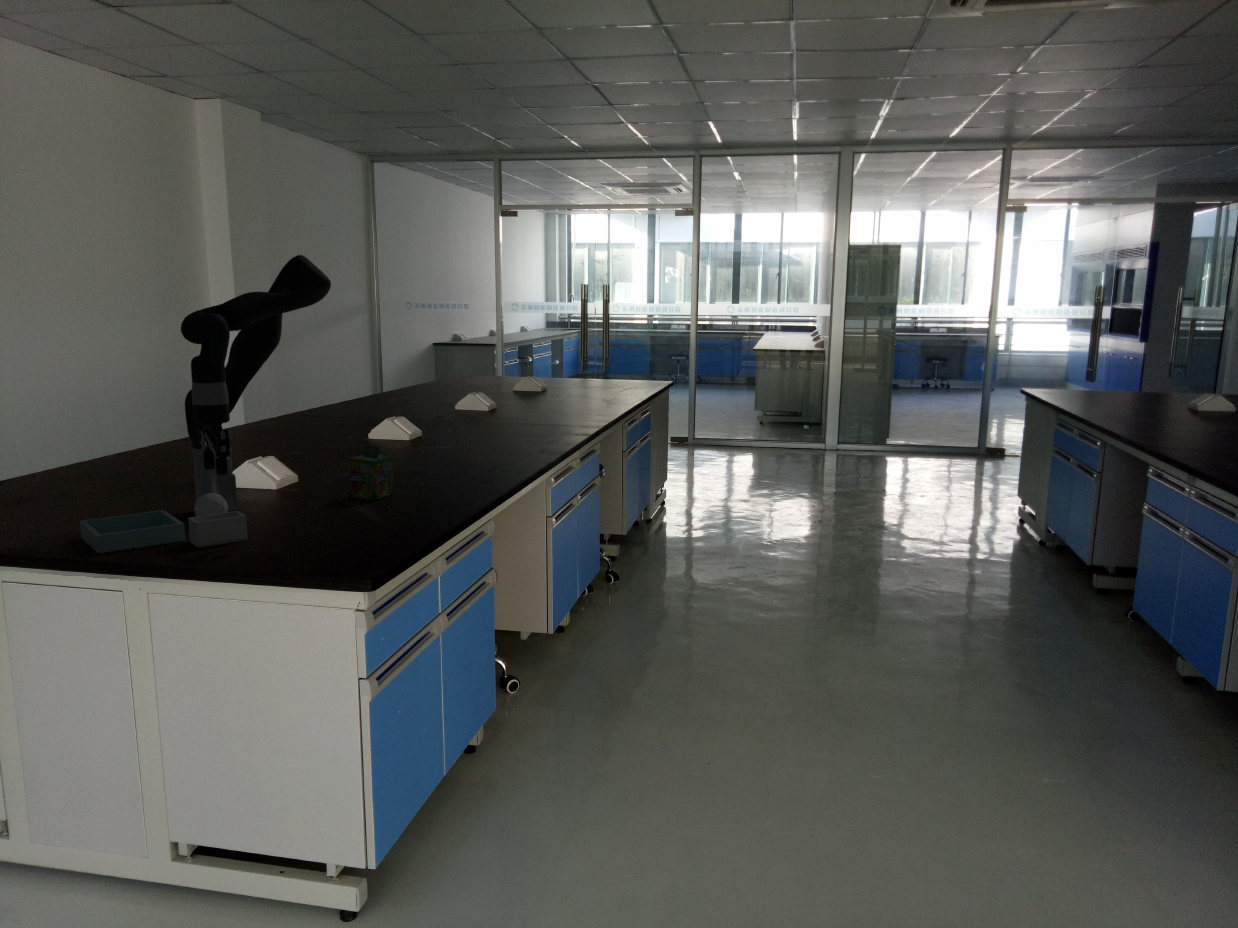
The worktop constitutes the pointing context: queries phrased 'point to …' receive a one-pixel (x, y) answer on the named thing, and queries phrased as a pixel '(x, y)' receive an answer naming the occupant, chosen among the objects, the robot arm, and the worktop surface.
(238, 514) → the grey crate
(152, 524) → the teal crate
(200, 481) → the robot arm
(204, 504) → the geometric ball
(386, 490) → the chalk box
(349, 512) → the worktop surface
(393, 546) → the worktop surface
